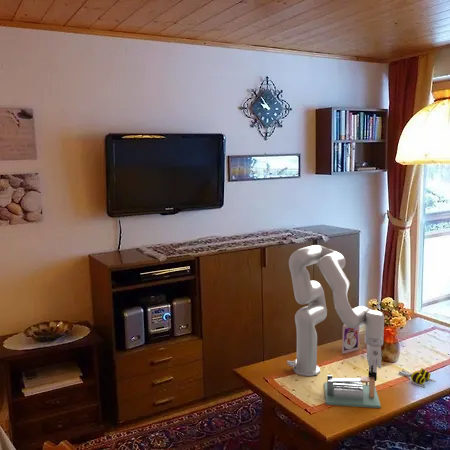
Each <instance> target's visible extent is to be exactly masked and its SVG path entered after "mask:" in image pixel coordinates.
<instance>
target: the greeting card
mask: <svg viewBox="0 0 450 450" xmlns="http://www.w3.org/2000/svg"><path fill="white" fill-rule="evenodd" d="M360 327H361V325H360V326H358V327H356V328H349V327H347V326H346V325H345V324H344V323H343V325H342V335H341V336H342V339H341V340H342V343H341V345H342V347H341V354H348V353H351V352H355V351H358V350H360V332H361V331H360V329H361V328H360Z"/></svg>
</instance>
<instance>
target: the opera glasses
mask: <svg viewBox="0 0 450 450" xmlns="http://www.w3.org/2000/svg"><path fill="white" fill-rule="evenodd" d="M412 373H413V374H412V376H411V380H412V381H415V382H417V383H419V384H420V385H424V384H425V382H426V380H427V381H430V380H429V378H430V379H431V372H429V371H427V370H425V369H424V368H423V367H421V368H420V371H414V372H412ZM411 380H410V381H411ZM412 381H411V382H412Z"/></svg>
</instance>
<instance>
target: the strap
mask: <svg viewBox="0 0 450 450" xmlns="http://www.w3.org/2000/svg"><path fill="white" fill-rule="evenodd" d="M329 380H333V382H334V383H362V384H365V385H366V386H368V385H369V382H361V378H360V377H332V378H329Z"/></svg>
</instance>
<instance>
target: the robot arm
mask: <svg viewBox="0 0 450 450" xmlns="http://www.w3.org/2000/svg"><path fill="white" fill-rule="evenodd" d="M346 263H347V261H346V258H345V257H344V255H343V254H342V253H340V252H338V251H336V250H333V249H331V248H327V247H324V246H322V245H319V244H314V245H313V244H312V245H310V246H304V247H302V248H298V249H296V250H295V251H294V252H292V253H291V254H290V256H289V259H288V267H289V272H290V276H291V282H292V289H293V294H294V298H295V301H296V302H297V304H299V305H305V306H303V307H300V308H299V309H298V310H297V311H296V313H295V315H294V321H295V322H294V323H295V328H296V358H295V360H287V361H286V365H287V366H289V367H293V368H292V371H293V372H294V373H295V374H297V375H300V376H302V377H303V376H304V377H313V376H317V375H319V374H320V372H321V369H320V367H319V366H318V365H317V363H318V361H317V359H318V356H317V355H318V333H317V331H316V328H315V327H316V325H317V324H319V323H322V322H323V321H324V320H325V319H326V318H327V314H328V309H327V304H326V297H325V290H324V289H323V286H322V285H321V283H320V282H319V281H318V280H311V275H310V272H309V271H308V269H307V268H306V267H308V266H311V265H315V264H317V265H318V268H319V270H320V272H321V274H322V276H323V277H324V279H325V281H326V282H327V284H328V286H329V288H330V289H331V291H332V294H333V295H332V298H333V304H334V309H335V311H336V314H337V315H338V317H339V318H340V320H341V322H342V323H343V325H344V324H345V325H346V326H347V327H349V328H356V327H358V326H360V327H361V325H365V326H364V343H365V344H366V361H367V363H368V376H367V377H374V380H375V382H376V381H377V377H378V376H377V373H378V370H379V369H382V346H383V345H384V332H385V331H384V330H385V315H384V313H383V312H382V311H379V310H377V309H376V310H373V309H371V308H369V307H367V306H364V305H358V306H355V307H354V308H352V306H351V304H350V302H349V299H348V291H349V289H350V285H351V282H350V280H349V278H348V277H347V275H346V273H345V272H344V270H343V269H344V268H345V266H346ZM307 304H308V305H307Z"/></svg>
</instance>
